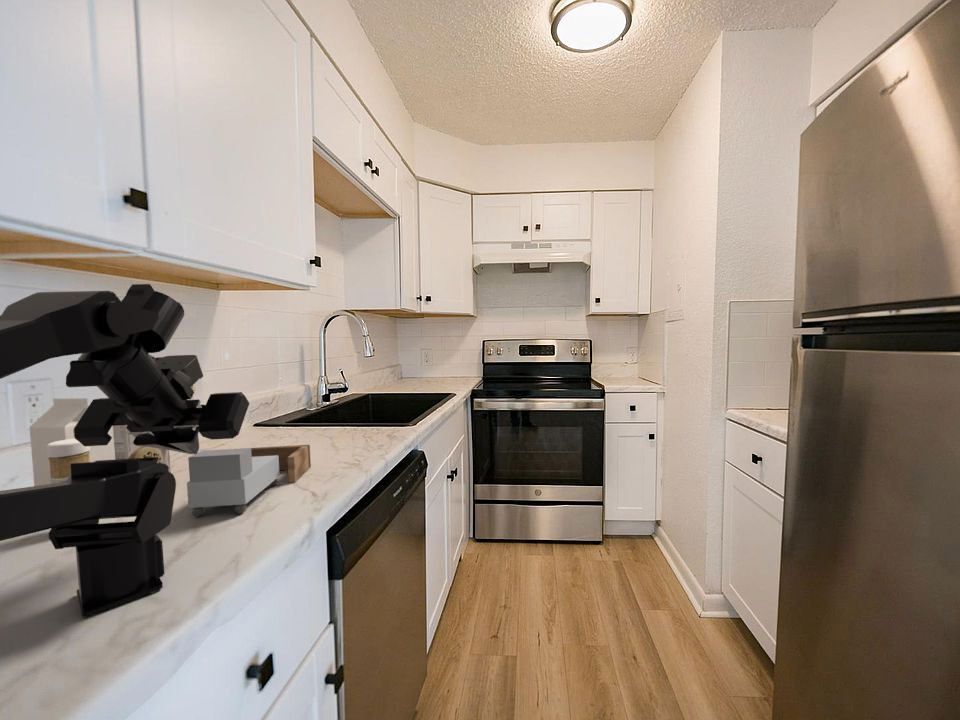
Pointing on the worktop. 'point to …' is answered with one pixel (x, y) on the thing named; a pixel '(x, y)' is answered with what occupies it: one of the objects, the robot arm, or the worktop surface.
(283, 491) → the worktop surface
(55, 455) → the sprinkles bottle
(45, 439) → the milk carton
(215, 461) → the trolley
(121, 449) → the coffee box
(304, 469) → the bay
